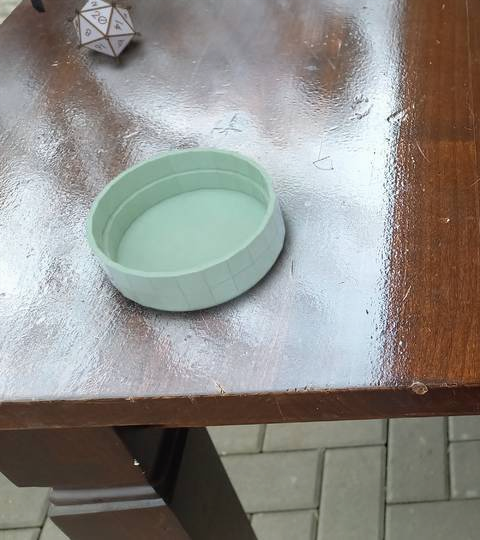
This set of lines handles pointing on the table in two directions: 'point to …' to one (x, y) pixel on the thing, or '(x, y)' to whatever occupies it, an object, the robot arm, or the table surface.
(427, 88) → the table surface
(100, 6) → the game die
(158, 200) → the bowl
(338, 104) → the table surface
